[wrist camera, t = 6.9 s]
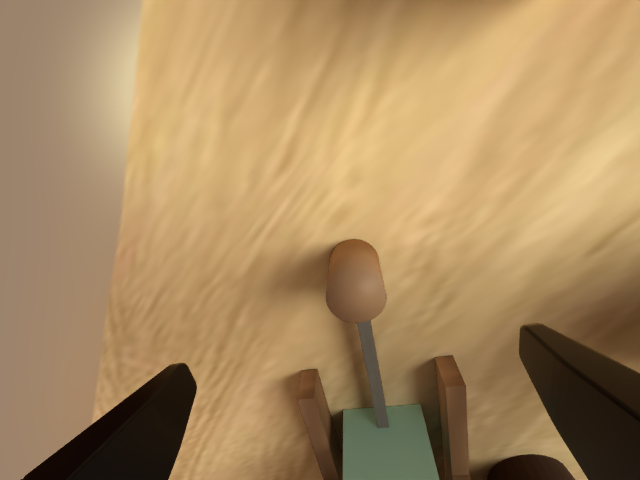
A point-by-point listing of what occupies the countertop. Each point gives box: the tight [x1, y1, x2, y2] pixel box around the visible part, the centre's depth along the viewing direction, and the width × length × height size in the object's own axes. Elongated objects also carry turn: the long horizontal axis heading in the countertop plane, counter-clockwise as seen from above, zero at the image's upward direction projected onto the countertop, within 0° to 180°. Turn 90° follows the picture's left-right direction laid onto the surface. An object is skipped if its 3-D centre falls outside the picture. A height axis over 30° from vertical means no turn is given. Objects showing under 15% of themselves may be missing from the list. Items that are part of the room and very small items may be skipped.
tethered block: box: [326, 239, 439, 480], centre depth 19 cm, size 6×20×6 cm, turn 12°
